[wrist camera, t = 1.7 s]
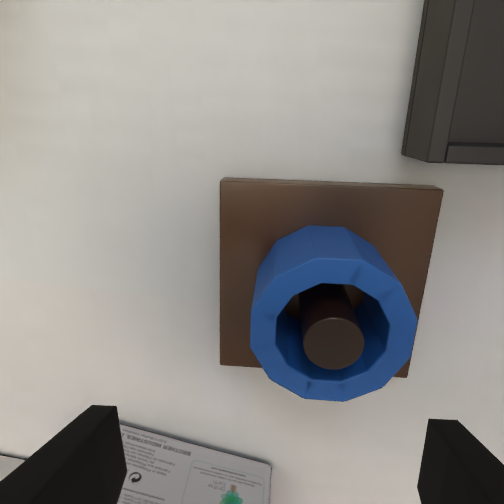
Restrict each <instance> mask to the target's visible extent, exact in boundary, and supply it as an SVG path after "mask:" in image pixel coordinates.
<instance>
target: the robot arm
mask: <svg viewBox="0 0 504 504" xmlns="http://www.w3.org/2000/svg"><path fill="white" fill-rule="evenodd" d="M126 474H127V466H126V460H125V454H124V448H123V442H122V436H121V430H120V424H119V418H118V412H117V406H101V405H92V406H90V407H89V408H88V409H87V410H85V411H84V412H83V413H82V414H80V415H79V416H78V417H77V418H76V419H74V420H73V421H72V422H71V423H70V424H68V425H67V426H66V427H65V428H64V429H63V430H61V431H60V432H59V433H58V434H57V435H55V436H54V437H53V438H52V439H51V440H50V441H48V442H47V443H46V444H45V445H44V446H42V447H41V448H40V449H39V450H38V451H36V452H35V453H34V454H33V455H32V456H30V457H29V458H28V459H27V460H25V461H24V462H23V463H22V464H21V465H19V466H18V467H17V468H16V469H15V470H13V471H12V472H11V473H10V474H9V475H7V476H6V477H5V478H4V479H2V480H1V481H0V504H117V502H118V499H119V496H120V493H121V490H122V487H123V484H124V480H125V477H126ZM417 488H418V492H419V496H420V500H421V504H504V465H503V464H502V463H501V462H500V461H499V460H498V459H497V458H496V457H495V456H494V455H493V454H492V453H491V452H490V451H489V450H488V449H487V448H486V447H485V446H484V445H483V444H482V443H481V442H480V441H479V440H478V439H476V438H475V437H474V436H473V435H472V434H471V433H470V432H469V431H468V430H467V429H466V428H465V427H464V426H463V425H462V424H461V423H460V422H459V421H458V420H443V419H429V420H428V426H427V432H426V438H425V444H424V450H423V456H422V462H421V468H420V474H419V480H418V485H417Z"/></svg>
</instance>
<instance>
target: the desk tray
mask: <svg viewBox="0 0 504 504" xmlns="http://www.w3.org/2000/svg"><path fill="white" fill-rule="evenodd" d="M401 154H402V155H404V156H408V157H411V158H414V159H418V160H421V161H424V162H428V163H443V162H444V163H456V164H484V165H504V0H425V2H424V9H423V15H422V22H421V28H420V35H419V41H418V48H417V54H416V61H415V68H414V74H413V81H412V87H411V94H410V100H409V107H408V113H407V120H406V126H405V133H404V139H403V146H402V152H401Z"/></svg>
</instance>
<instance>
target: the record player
mask: <svg viewBox="0 0 504 504" xmlns="http://www.w3.org/2000/svg"><path fill="white" fill-rule="evenodd" d="M24 461H25V460H22V459H17V458H12V457H6V456H1V455H0V481H1V480H2V479H4V478H5V477H6V476H7V475H9V474H10V473H11V472H12V471H13V470H15V469H16V468H17V467H18V466H19V465H21V464H22V463H23V462H24Z"/></svg>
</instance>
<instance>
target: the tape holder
mask: <svg viewBox="0 0 504 504" xmlns="http://www.w3.org/2000/svg"><path fill="white" fill-rule="evenodd" d="M442 196H443V189H440V188H438V187H436V186H429V185H403V184H377V183H352V182H326V181H300V180H274V179H248V178H223V179H222V180H221V181H220V365H228V366H243V367H257V368H262V366H261V364H260V363H259V361H258V359H257V358H256V356H255V354H254V353H253V351H252V350H251V348H250V329H251V308H252V302H253V296H254V290H255V283H256V277H257V271H258V268H259V266H260V264H261V263H262V261H263V260H264V258H265V257H266V255H267V254H268V253H269V251H270V250H271V248H272V247H273V245H274V244H275V242H277V240H279V239H281V238H283V237H285V236H287V235H289V234H291V233H293V232H295V231H298V230H300V229H302V228H304V227H306V226H309V225H313V226H335V227H345V228H347V229H349V230H350V231H352V232H353V233H355V234H356V235H358V236H360V237H361V238H363V239H364V240H366V241H367V242H369V243H371V244H372V245H373V246H374V247H375V248H376V250H377V251H378V252H379V254H380V255H381V256H382V258H383V259H384V261H385V262H386V263H387V265H388V266H389V267H390V269H391V270H392V272H393V273H394V274H395V276H396V277H397V279H398V280H399V281H400V283H401V284H402V286H403V288H404V290H405V293H406V295H407V297H408V299H409V301H410V304H411V306H412V308H413V310H414V312H415V315H416V317H417V324H418V319H419V314H420V309H421V304H422V299H423V294H424V288H425V283H426V278H427V273H428V268H429V263H430V258H431V253H432V247H433V242H434V237H435V232H436V227H437V222H438V217H439V212H440V206H441V201H442ZM363 295H364V291H362V290H360V289H359V288H357V287H355V286H354V285H350V284H332V283H320V284H318V285H316V286H313V287H311V288H309V289H307V290H304V291H302V292H300V293H298V294H295V295H293V296H292V298H291V299H290V300H289V302H288V303H287V304H286V306H285V307H284V309H285V311H286V313H287V314H288V315H290V316H292V317H294V318H295V319H297V320H299V321H300V322H301V329H302V339H303V348H304V352H305V354H306V356H307V357H308V358H309V359H310V361H312V362H313V363H314V364H316V365H317V366H319V367H322V368H325V369H341V368H345V367H347V366H349V365H351V364H353V363H354V362H355V361H356V360H357V359H358V358H359V357H360V355H361V353H362V351H363V348H364V337H363V333H362V331H361V328H360V326H359V323H358V320H357V318H356V315H355V312H354V311H355V309H356V308H357V307H358V306H359V305H360V303H361V302H362V301H363ZM416 329H417V326H416ZM415 335H416V331H415ZM414 340H415V336H414ZM413 345H414V341H413ZM412 350H413V347H412ZM411 355H412V352H411ZM410 360H411V357H410V358H409V360H408V361H407V362H406V363H405V364H404V365H403V366H402V367H401V368H400V369H399V370H398V372H397V373H396V374H395V375H394V376H393V377H402V378H407V376H408V370H409V365H410Z"/></svg>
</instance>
